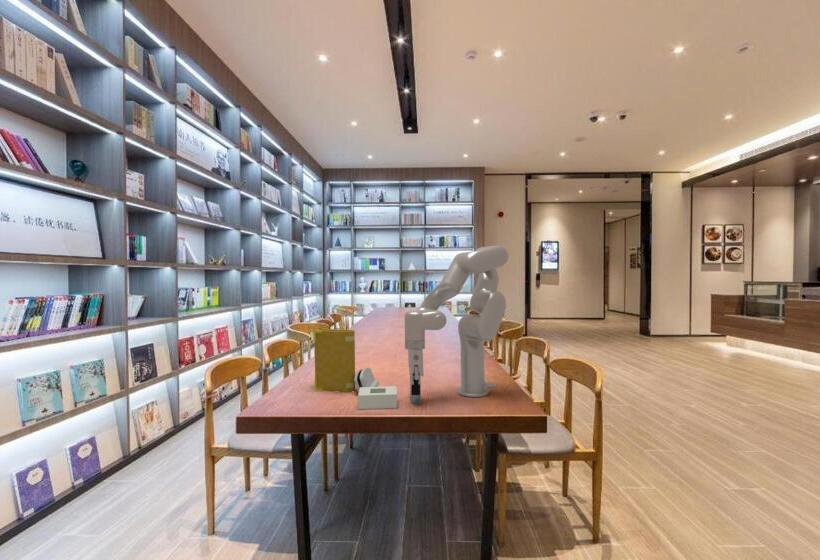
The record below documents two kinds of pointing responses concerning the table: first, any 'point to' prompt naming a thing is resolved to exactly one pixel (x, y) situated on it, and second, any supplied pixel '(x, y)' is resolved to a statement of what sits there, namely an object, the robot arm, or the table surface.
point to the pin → (415, 398)
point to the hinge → (365, 379)
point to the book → (334, 360)
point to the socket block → (377, 397)
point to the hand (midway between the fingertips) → (415, 392)
